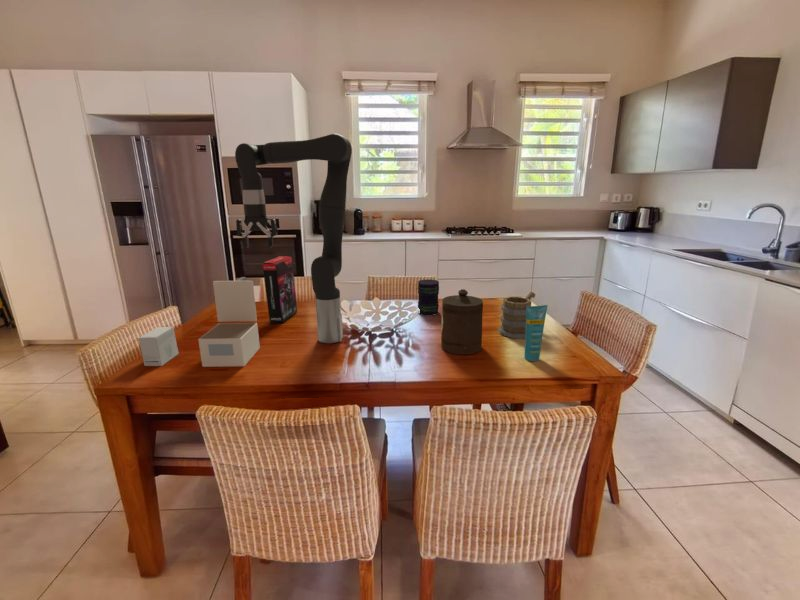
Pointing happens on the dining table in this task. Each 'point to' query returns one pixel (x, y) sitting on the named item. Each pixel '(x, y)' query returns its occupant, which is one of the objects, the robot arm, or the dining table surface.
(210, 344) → the carton
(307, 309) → the dining table surface
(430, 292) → the storage jar
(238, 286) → the flap
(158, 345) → the skincare box
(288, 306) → the graphics card box
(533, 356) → the tube
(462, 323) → the wooden container
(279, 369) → the dining table surface
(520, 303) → the tankard
